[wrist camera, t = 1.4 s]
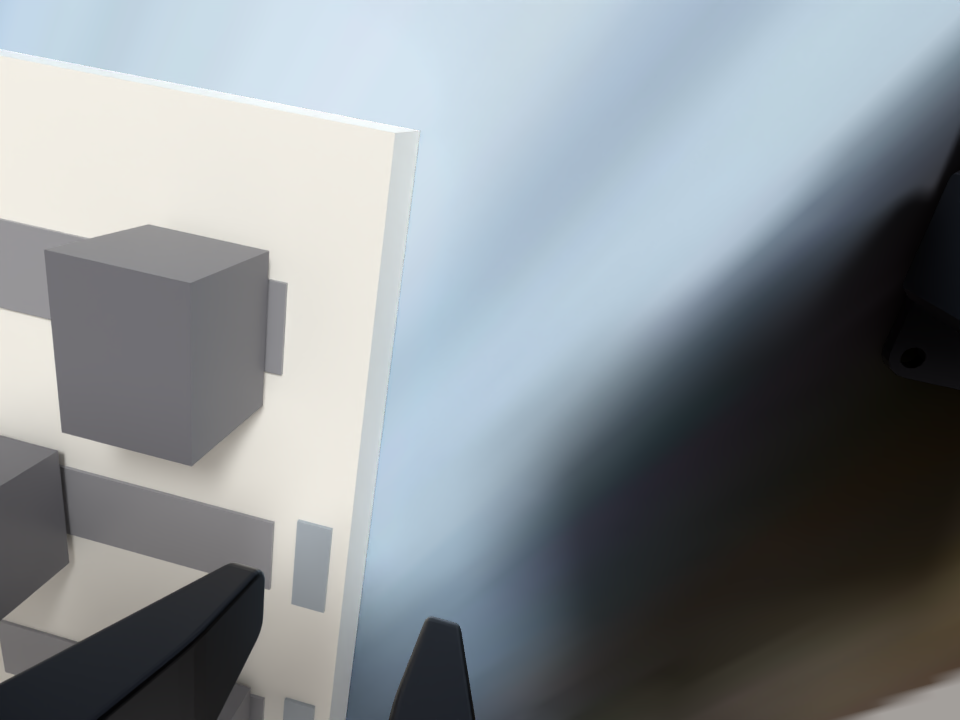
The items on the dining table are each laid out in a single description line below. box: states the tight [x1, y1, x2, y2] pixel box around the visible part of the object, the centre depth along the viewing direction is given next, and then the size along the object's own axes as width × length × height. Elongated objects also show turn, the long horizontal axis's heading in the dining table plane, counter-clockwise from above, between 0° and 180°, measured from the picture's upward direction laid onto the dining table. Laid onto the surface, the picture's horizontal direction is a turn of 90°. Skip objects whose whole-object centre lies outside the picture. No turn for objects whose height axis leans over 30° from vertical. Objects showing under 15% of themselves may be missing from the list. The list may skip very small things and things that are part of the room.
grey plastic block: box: [44, 224, 269, 466], centre depth 14 cm, size 3×4×3 cm
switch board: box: [0, 49, 420, 720], centre depth 20 cm, size 14×24×2 cm, turn 170°
